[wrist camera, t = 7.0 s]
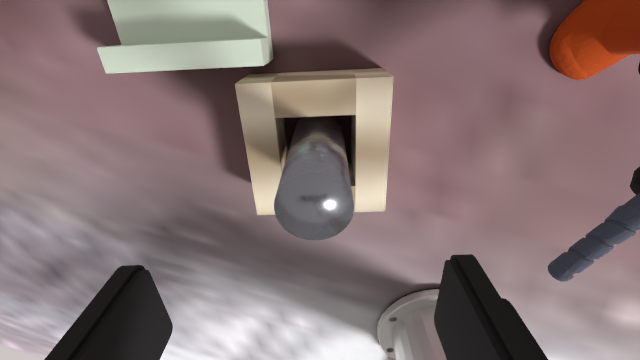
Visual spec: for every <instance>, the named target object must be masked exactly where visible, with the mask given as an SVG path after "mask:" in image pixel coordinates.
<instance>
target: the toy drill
mask: <svg viewBox="0 0 640 360" xmlns="http://www.w3.org/2000/svg"><path fill="white" fill-rule="evenodd" d="M629 54H640V0H584V1H583V2H582V3H581V4H580V5H579V6H577V7H576V8H575V9H574V10H573V11H572V12H571V13H570V14H569V15H568V16H567V17H566V18H565V20H564V21H563V22H562V23H561V25H560V26H559V27H558V28H557V30H556V32H555V33H554V35H553V37H552V39H551V42H550V46H549V55H550V58H551V61H552V63H553V65H554V66H555V67H556V68H557V69H558V71H559V72H561V73H562V74H563V75H565V76H567V77H569V78H572V79H576V80H582V79H586V78H589V77H591V76H593V75H595V74H597V73H599V72H600V71H602V70H604V69H606V68H607V67H609V66H611V65H613V64H614V63H616V62H618V61H619V60H621V59H623V58H624V57H626V56H628V55H629ZM638 71H639V74H640V63H639V70H638ZM630 188H631V189H632V191H633V192H634V193H635V194H636V196H635V197H633V198H632V199H631V200H629V201H628V202H627V203H626V204H624V205H622V206H619V207H618V208H617V209H615V210H614V211H613V212H612V213H611V214H610V216H609V217H608V218H607V219H606V220H605V222H604V223H601V224H600V225H599V226H597V227H596V228H595V229H593V230H592V231H591V232H589V233H588V234H587V235H586V238H582V239H580V240H579V241H578V242H576V243H575V244H574V245H573V246H571V247H570V248H569V250H568V252H564V253H563V254H561V255H560V256H559V257H557V258H556V259H555V260H554V261H552V262H551V263H550V264H549V265H548V271H549V273H550V275H551V276H552V277H554V278H555V279H557V280H559V281H568V280H570V279H572V278H573V277H574V276H573V274H574V273H580V272H581V271H583V270H584V269H586V268H587V267H588V266H590V265H591V264H592V263H593V262H594V261H593V260H594V259H599V258H600V257H602V256H603V255H605V254H606V253H608V252H609V251H610V250H611V249H613V248H614V247H613V245H614V244H620V243H622V242H623V241H625V240H627V239H628V238H630V237H631V236H633V235H635V234H636V232H635V231H636V230H638V229H639V230H640V167H639V168H637V169H636V170H635V171H634V174H633V177H632V181H631V184H630Z"/></svg>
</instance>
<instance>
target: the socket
mask: <svg viewBox="0 0 640 360" xmlns="http://www.w3.org/2000/svg"><path fill="white" fill-rule="evenodd" d="M235 89H236V95H237V101H238V106H239V112H240V118H241V124H242V129H243V135H244V141H245V147H246V152H247V158H248V164H249V170H250V175H251V181H252V187H253V193H254V199H255V204H256V210H257V215H275V211H274V200H275V196H276V193H277V189H278V186H279V182H280V179H281V175H282V172H283V168H284V165H285V161H286V158H287V155H288V151H287V142H286V132H285V123H284V118H289V117H313V116H337V115H351V164H348V169H349V175H350V182H351V188H352V195H353V201H354V212H374V211H385V203H386V187H387V172H388V156H389V140H390V124H391V108H392V92H393V76H392V75H391V74H390V73H388V72H387V71H386V70H385V69H383V68H373V69H352V70H331V71H310V72H289V73H268V74H249V75H247V76H246V77H244V78H243V79H241V80H240V81H238V82H237V83H235Z"/></svg>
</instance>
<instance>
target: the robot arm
mask: <svg viewBox="0 0 640 360" xmlns="http://www.w3.org/2000/svg"><path fill="white" fill-rule="evenodd" d="M172 328H173V326H172V322H171V319H170V317H169V315H168V313H167V310H166V308H165V306H164V304H163V301H162V299H161V297H160V295H159V292H158V290H157V288H156V286H155V283H154V281H153V279H152V277H151V274H150V272H149V271H148V270H145V268H144V267H143V266H142V265H134V266H121V267H119V268H118V269H117V270H116V271H115V272H114V274H113V275H112V276H111V277H110V279H109V280H108V281H107V282H106V284H105V285H104V286H103V287H102V289H101V290H100V291H99V292H98V294H97V295H96V296H95V297H94V299H93V300H92V301H91V302H90V304H89V305H88V306H87V307H86V309H85V310H84V311H83V312H82V314H81V315H80V316H79V317H78V319H77V320H76V321H75V322H74V324H73V325H72V326H71V327H70V329H69V330H68V331H67V332H66V334H65V335H64V336H63V337H62V339H61V340H60V341H59V342H58V343H57V345H56V346H55V347H54V348H53V350H52V351H51V352H50V353H49V355H48V356H47V357H46V358H45V360H160V357H161V355H162V353H163V351H164V349H165V347H166V345H167V343H168V340H169V338H170V336H171V334H172ZM377 335H378V340H379V344H380V346H381V348H382V349H383V351H384V352H385V353H386V354H387V355H388V356H390V357H391V358H393V359H394V360H548V359H547V357H546V356H545V354H544V353H543V351H542V350H541V348H540V347H539V345H538V343H537V342H536V340H535V339H534V337H533V336H532V334H531V333H530V331H529V330H528V328H527V327H526V325H525V324H524V322H523V321H522V319H521V318H520V316H519V315H518V313H517V311H516V310H515V308H514V307H513V306H512V304H511V303H510V302H509V301H507V300H506V299H503V298H501V297H500V296H499V294H498V293H497V291H496V289H495V288H494V286H493V285H492V283H491V281H490V280H489V278H488V277H487V275H486V274H485V272H484V270H483V269H482V267H481V266H480V264H479V262H478V261H477V259H476V258H475V257H474V256H473V255H452V256H451V259H450V260H446V261H445V265H444V270H443V275H442V280H441V284H440V289H431V290H424V291H420V292H416V293H412V294H410V295H407V296H405V297H403V298H401V299H399V300H398V301H396V302H394V303H393V304H392V305H391V306H389V307H388V308H387V309H386V310H385V312H384V313H383V314H382V315H381V317H380V319H379V321H378V326H377Z"/></svg>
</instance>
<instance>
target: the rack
mask: <svg viewBox="0 0 640 360" xmlns="http://www.w3.org/2000/svg"><path fill="white" fill-rule="evenodd" d="M107 2H108V5H109V8H110V11H111V14H112V17H113V20H114V23H115V26H116V29H117V32H118V35H119V39H120V42H121V45H115V46H106V47H97V50H98V53H99V55H100V58H101V61H102V64H103V67H104V69H105V72H106V74H107V73H127V72H148V71H168V70H189V69H209V68H230V67H250V66H264V65H266V64H267V63H269V62H270V61H271V60H273V59H274V57H273V48H272V39H271V30H270V21H269V12H268V3H267V0H107Z"/></svg>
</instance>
